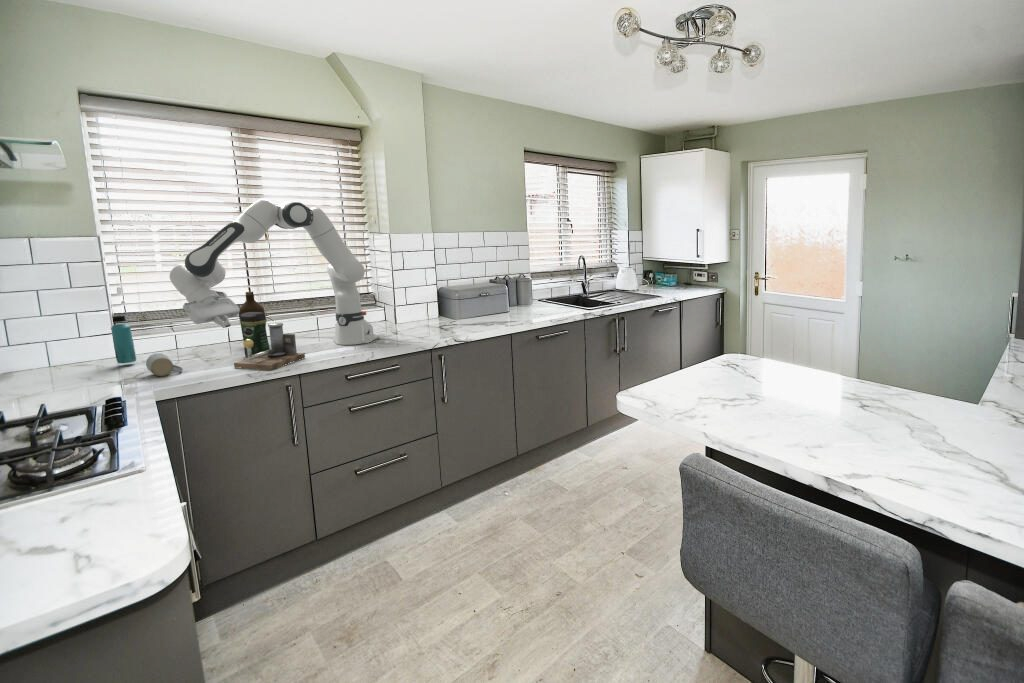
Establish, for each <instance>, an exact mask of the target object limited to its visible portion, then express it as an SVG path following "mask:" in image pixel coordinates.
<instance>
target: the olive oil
mask: <svg viewBox="0 0 1024 683" xmlns="http://www.w3.org/2000/svg"><path fill="white" fill-rule="evenodd" d="M239 310H240V312H239V313H238V318H239V324H240V328H241V334H242V340H243V341H242V342H244V335H243V328H242V325H241V320H240V319H241V314H242V313H247V312H263V313H264V314H265V312H266V310H265V309H264V308H263V306H262V305H261V304H260V303H258V301H256V300H255V294H254V291H245V302H244V303H243V304H242V305H241V306H240V307H239ZM265 315H266V314H265Z"/></svg>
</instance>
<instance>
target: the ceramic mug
mask: <svg viewBox="0 0 1024 683" xmlns="http://www.w3.org/2000/svg"><path fill="white" fill-rule="evenodd" d="M145 366H146V368H147V370H148V371H149V372H150V373H151V374H153V375H154V376H155V377H156V376H157V377H166V376H168V375H170V374H171V373H173V372H175V373H182V372H183V367H181V366H180V365H176V364H174V363H173V362H172V360H171V359H170V358H169V356H167V355H166V354H164V353H159V352H156V353H153V354H151V355H149V356H148V357H147V358H146V362H145Z"/></svg>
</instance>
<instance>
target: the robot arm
mask: <svg viewBox="0 0 1024 683" xmlns="http://www.w3.org/2000/svg"><path fill="white" fill-rule="evenodd" d="M274 225H275V226H276V227H278V228H281V229H283V230H295V229H297V228H303V229H304V230H305V231H306V232H307V233H308V235H309V238H311V240H312V241H313V244H314V245H315V247H316V248H317V250H318V251H319V253H320V255H321V256H322V257H324V258H325V260H326V261H327V262H328V264H327V270H326V271H327V274H328V275H329V278H330V282H331V287H332V290H333V293H334V294H333V295H334V300H335V301H334V302H335V309H336V312H335V321H336V323H335V324H334V338H333V340H332V341H333V342H334V343H335V344H336V345H340V346H341V345H342V346H343V345H345V346H346V345H349V346H350V345H352V346H353V345H358V344H359V345H360V344H369V342H370V343H371V342H373V341H375V340H376V339H378V338H379V337H380V335H379V334H375V333H374V326H373V325H372V324H371V323H369V321H367V320H366V319H365V316H367V311H366V310H365V311H364V310H362V303H361V294H360V292H359V290H358V287H357V284H356V283H357V282H360V281H361V280H362V279H363V278H364V276H365V275H366V274H365V270H366V269H365V267H364V265H363V264H362V262H360V261H359V260H358V259H357V258H356V256H355V255H354V253H353V252H352V251H351V250H350V248H348V246H347V245H346V243H345V242H344V240H343V239H342V237H341V236H340V234H339V233H338V231H337V229H336V228H335V225H334V224H333V222H332V221H331V219H330V218H329V217H328V216H327V214H326V213H325V212H324V211H323V209H322V208H320V207H317V206H316V207H309V206H306V205H305V204H304V203H302V202H300V201H297V200H296V201H295V200H293V201H285V202H282V203H280V204H274V202H273V201H271V200H269V199H266V198H260V199H258V200H256V201H255V202H253V203H252V204H251V205H250V206H248V207H247V208H246V209H245V210H244V211H243V212H242V213H241V214H240V215H239V216H238V217H237V218H235V220H234V221H232V222H230V223H228V224H226V225H225V226H224V227H222V228H221V229H220V230H219V231H217V232H216V233H215V234H214V235H213V236H211V238H209V240H207V241H206V242H205V243H204V244H202V245H201V246H199V247H196V248H194V249H193V250H191V251H190V252H188V253H187V255H186V256H185V258H184V263H180V264H177V265H176V266H174V267H173V268H172V269H171V270H170V272H169V281H170V282H171V284H172V285H173V286H174V288H175V289H176V290H177V291H178V293H179V294H180V295H182V296H184V297H185V299H186V301H187V302H184V303H183V304H182V308H183V309H184V311H185V312H186V314H187V316H188V317H189V319H190V320H191V322H192V323H194V324H196V325H201V324H205V323H210V322H213V323H215V324H217V325H218V326H220V327H222V329H225V328H230V327H231V326H232V323H231V322H230V321H229V319H230V318H235V317H237V316H238V315H239V312H240V307H239V306H238V305H237V304H236V303H235V302H234V301H233V300H232V299H231V298H229V297H228V295H227V293H226V292H224V291H219V290H218V291H217V290H214V289H211V288H213V287H215V286H217V285H219V284H220V283H222V282H223V281H224V280H225V277H226V270H225V267H224V266H223V265H222V264H221V263H220V262H219V261H218V258H219V257H220V256H221V255H222V254H223V253H224V252H225V251H227V249H229V248H230V246H231V247H232V245H233V244H235V243H237V242H242V243H246V244H252V243H256V242H257V241H259V240H260V239H261V238H263V236H265V234H266V233H267V232H268V231H269V230H270V229H271V228H272V227H273V226H274Z"/></svg>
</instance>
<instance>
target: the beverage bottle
mask: <svg viewBox="0 0 1024 683" xmlns="http://www.w3.org/2000/svg"><path fill="white" fill-rule="evenodd" d="M126 321H127V319H126V316H125V315H114V316H112V322H113V323H116V324H113V325H112V327H110V330H111V335H112V340H113V349H114V352H115V359H116V361H117V363H118V364H129V363H133V362H136V361H137V355H136V349H135V344H134V340H133V336H132V329H131V326H130V324H128V323H122V322H126ZM120 322H121V323H120Z"/></svg>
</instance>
